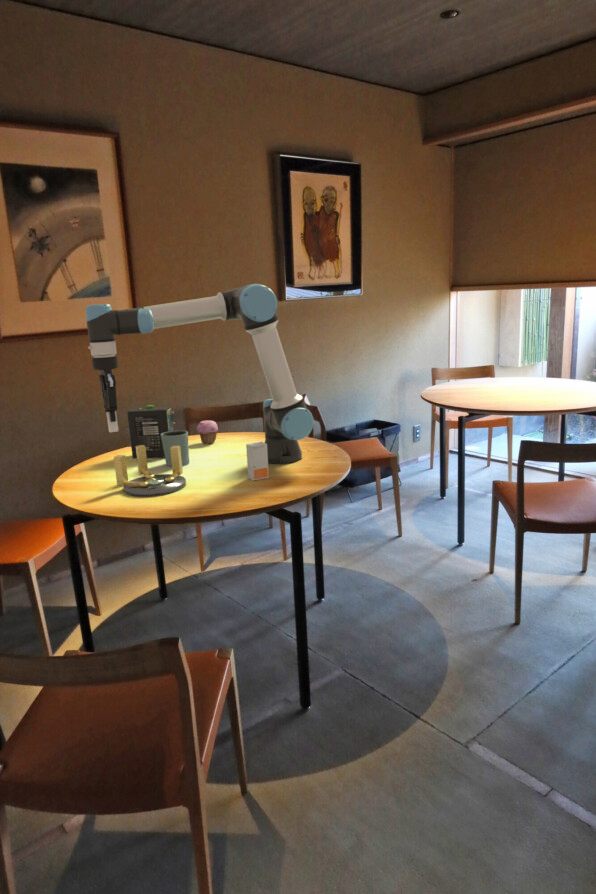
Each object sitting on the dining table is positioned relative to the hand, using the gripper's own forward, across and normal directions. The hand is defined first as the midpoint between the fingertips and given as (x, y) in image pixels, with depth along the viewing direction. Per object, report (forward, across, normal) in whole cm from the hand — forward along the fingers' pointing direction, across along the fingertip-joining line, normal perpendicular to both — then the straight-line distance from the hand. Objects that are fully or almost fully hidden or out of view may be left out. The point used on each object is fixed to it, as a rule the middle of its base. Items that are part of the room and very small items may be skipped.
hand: (113, 431), depth 191 cm
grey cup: (+21, -24, +26) cm, 41 cm away
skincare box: (+21, +12, +43) cm, 49 cm away
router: (+21, -43, +22) cm, 53 cm away
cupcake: (+21, -50, +48) cm, 72 cm away
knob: (+19, -9, +11) cm, 23 cm away
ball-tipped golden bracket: (+19, 0, +4) cm, 19 cm away
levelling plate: (+20, 0, +11) cm, 23 cm away
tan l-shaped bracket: (+19, 0, +18) cm, 26 cm away
